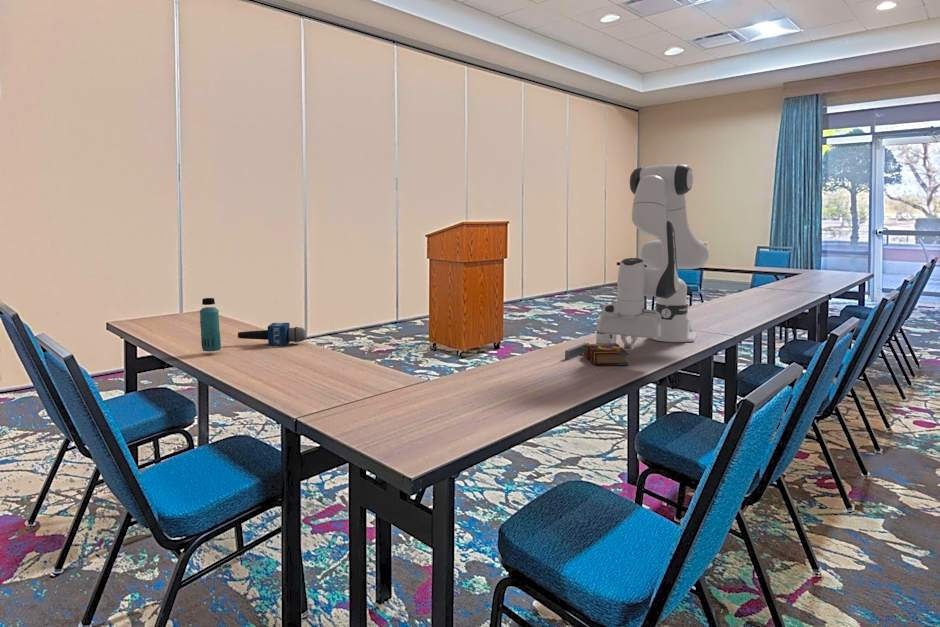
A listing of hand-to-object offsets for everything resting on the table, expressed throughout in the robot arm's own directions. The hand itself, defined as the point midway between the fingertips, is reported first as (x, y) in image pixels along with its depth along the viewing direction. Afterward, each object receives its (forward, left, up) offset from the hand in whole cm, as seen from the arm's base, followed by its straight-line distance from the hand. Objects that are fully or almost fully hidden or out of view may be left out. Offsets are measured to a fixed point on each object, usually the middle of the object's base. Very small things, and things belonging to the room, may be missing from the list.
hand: (628, 348), depth 209 cm
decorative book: (+2, -7, -5) cm, 9 cm away
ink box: (-16, -15, -5) cm, 23 cm away
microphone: (+50, -122, -5) cm, 131 cm away
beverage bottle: (+73, -126, -5) cm, 145 cm away
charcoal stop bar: (0, -19, -5) cm, 19 cm away
